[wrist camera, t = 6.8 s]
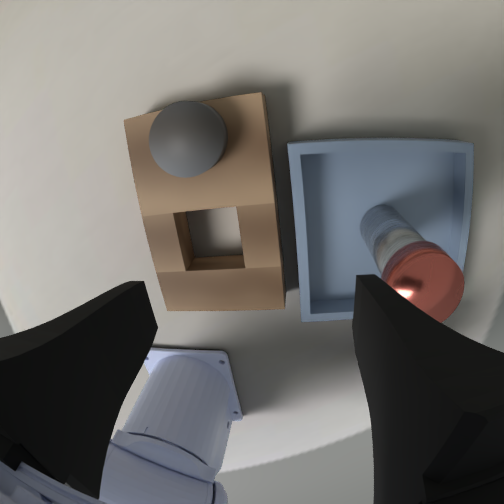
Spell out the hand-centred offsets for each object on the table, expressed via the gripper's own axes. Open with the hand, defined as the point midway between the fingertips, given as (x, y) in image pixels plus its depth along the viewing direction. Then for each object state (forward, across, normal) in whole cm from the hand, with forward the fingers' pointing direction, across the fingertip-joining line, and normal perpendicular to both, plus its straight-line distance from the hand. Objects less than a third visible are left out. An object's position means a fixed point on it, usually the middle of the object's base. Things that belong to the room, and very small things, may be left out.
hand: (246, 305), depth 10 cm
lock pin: (+9, -7, +1) cm, 12 cm away
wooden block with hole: (+10, +4, -1) cm, 10 cm away
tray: (+10, -7, +1) cm, 12 cm away
